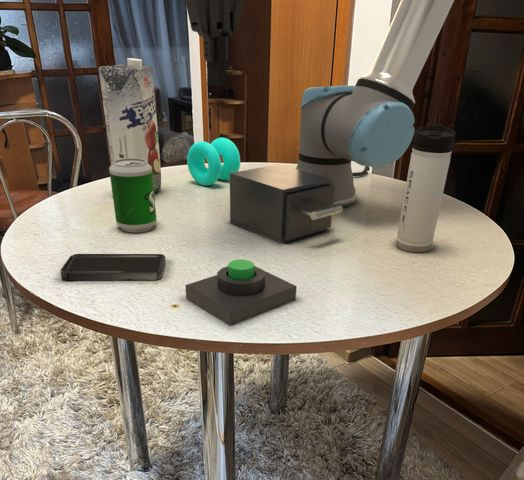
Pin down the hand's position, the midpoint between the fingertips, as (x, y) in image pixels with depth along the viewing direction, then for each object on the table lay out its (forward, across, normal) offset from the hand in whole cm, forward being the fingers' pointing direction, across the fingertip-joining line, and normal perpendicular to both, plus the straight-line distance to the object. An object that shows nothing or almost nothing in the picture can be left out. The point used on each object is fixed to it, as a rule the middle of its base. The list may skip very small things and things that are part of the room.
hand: (217, 85), depth 81 cm
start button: (+21, +15, +22) cm, 34 cm away
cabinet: (+25, -12, +3) cm, 28 cm away
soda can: (+25, +10, -14) cm, 30 cm away
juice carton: (+25, -3, -33) cm, 42 cm away
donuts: (+25, -23, -31) cm, 46 cm away
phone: (+25, +23, +2) cm, 34 cm away
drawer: (+24, -12, +7) cm, 28 cm away
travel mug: (+26, -23, +26) cm, 43 cm away
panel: (+25, +15, +22) cm, 36 cm away
